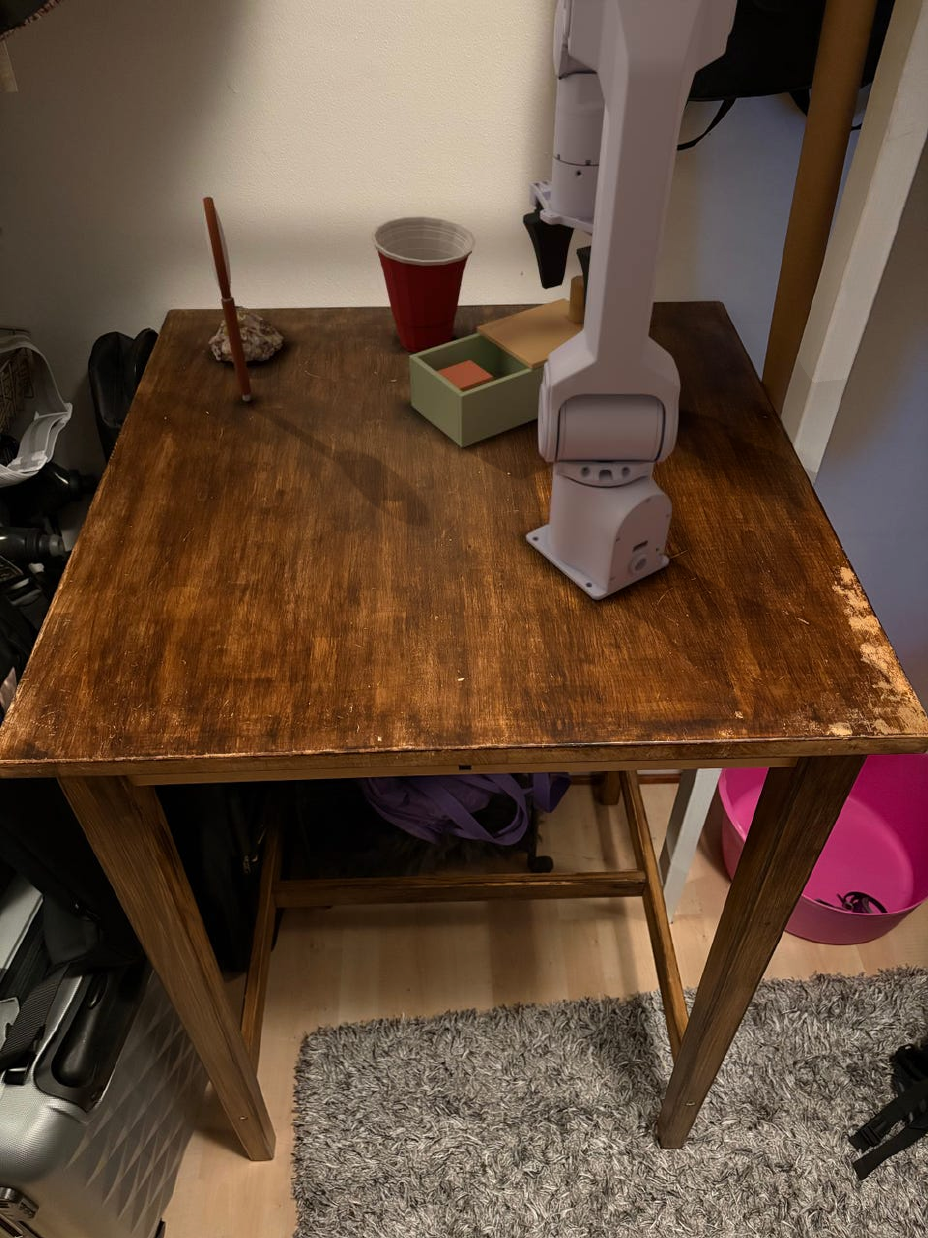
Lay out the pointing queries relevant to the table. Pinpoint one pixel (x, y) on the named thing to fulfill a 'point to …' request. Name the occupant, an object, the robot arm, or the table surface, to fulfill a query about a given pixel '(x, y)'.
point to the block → (466, 375)
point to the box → (474, 390)
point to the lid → (539, 327)
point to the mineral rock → (248, 338)
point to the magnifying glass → (225, 291)
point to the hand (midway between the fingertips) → (573, 300)
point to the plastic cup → (423, 276)
